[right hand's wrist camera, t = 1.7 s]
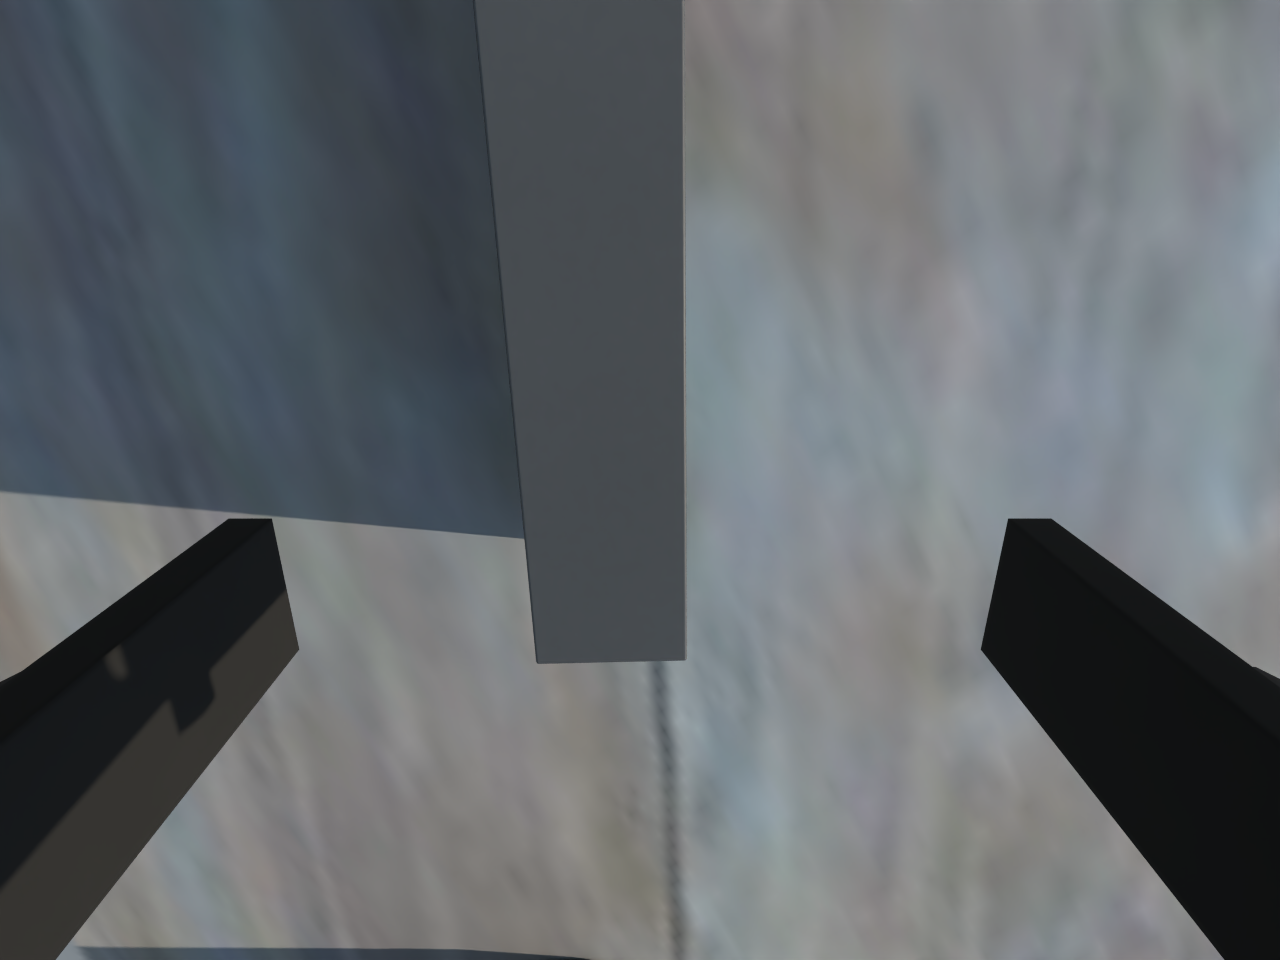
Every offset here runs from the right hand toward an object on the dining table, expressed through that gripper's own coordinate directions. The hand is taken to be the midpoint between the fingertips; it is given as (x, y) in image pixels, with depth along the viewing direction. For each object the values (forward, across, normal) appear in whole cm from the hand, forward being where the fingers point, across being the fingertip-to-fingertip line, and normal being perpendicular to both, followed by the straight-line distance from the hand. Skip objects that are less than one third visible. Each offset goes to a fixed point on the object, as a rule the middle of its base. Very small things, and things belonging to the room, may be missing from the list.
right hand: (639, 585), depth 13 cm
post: (+15, +2, -30) cm, 33 cm away
